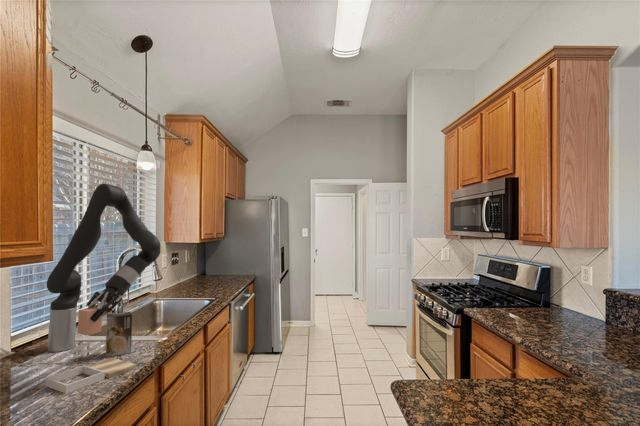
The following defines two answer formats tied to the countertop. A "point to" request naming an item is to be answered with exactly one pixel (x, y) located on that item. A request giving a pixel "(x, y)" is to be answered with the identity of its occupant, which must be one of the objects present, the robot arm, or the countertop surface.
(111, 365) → the maple board
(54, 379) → the square frame
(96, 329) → the terracotta block
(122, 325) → the coffee box
